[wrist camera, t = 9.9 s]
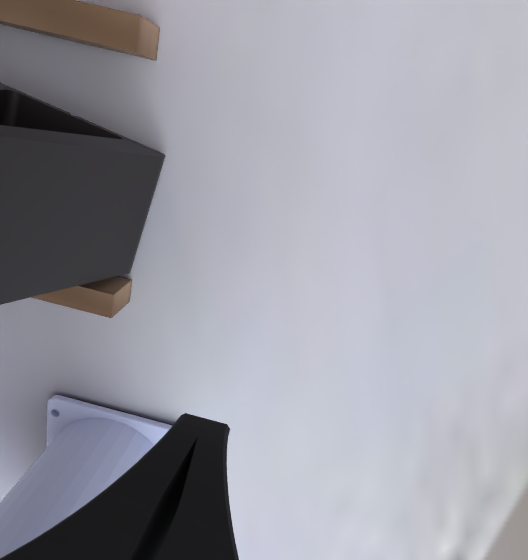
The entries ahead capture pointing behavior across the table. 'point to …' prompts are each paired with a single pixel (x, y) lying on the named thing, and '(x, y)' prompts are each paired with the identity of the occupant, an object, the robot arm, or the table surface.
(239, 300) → the table surface
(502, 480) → the table surface
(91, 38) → the walnut bracket
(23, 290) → the phone stand
